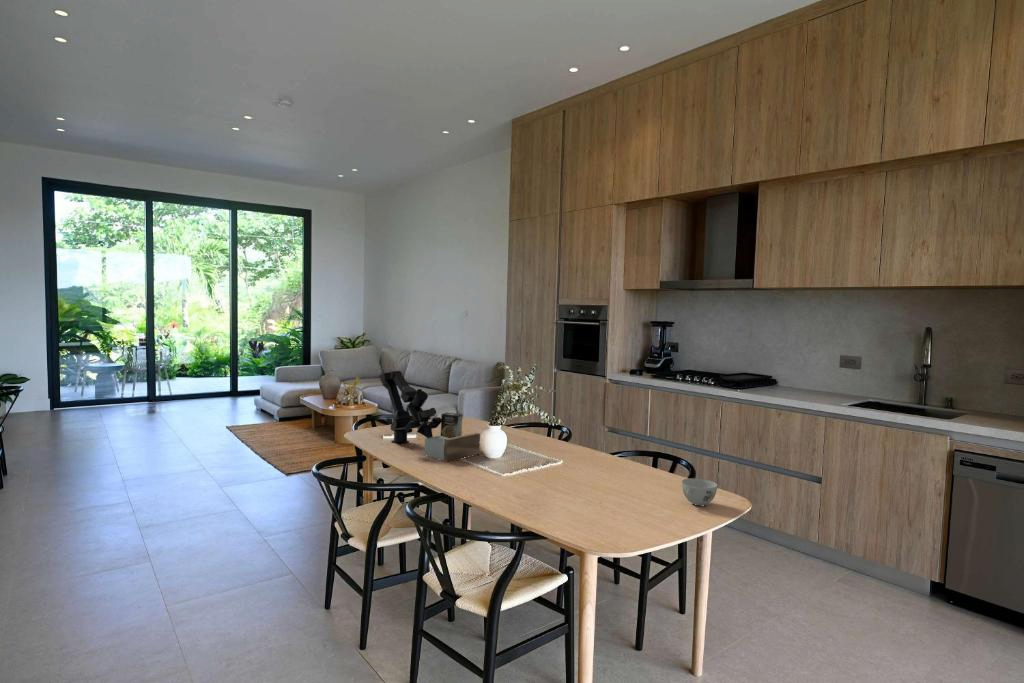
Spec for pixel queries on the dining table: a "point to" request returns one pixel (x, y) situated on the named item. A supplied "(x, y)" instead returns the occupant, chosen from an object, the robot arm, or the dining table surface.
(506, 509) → the dining table surface
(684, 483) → the teacup
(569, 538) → the dining table surface
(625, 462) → the dining table surface
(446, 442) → the walnut board
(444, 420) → the coffee box
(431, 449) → the grey block
